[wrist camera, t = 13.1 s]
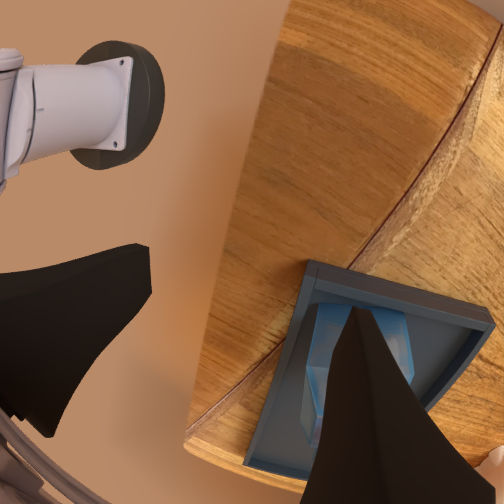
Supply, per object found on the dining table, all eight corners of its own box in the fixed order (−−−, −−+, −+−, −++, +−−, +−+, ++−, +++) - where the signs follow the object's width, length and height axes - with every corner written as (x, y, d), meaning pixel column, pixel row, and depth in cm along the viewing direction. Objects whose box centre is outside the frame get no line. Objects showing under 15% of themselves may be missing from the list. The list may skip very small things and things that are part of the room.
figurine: (536, 431, 19) (546, 500, 6) (509, 460, 23) (512, 520, 10) (488, 448, 23) (492, 526, 10) (464, 473, 27) (463, 539, 14)
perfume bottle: (313, 361, 22) (278, 493, 12) (319, 302, 20) (280, 459, 9) (384, 367, 20) (379, 501, 10) (403, 308, 18) (420, 467, 8)
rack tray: (246, 453, 36) (242, 464, 34) (308, 258, 19) (303, 274, 17) (339, 474, 33) (337, 486, 31) (487, 307, 16) (496, 325, 14)
